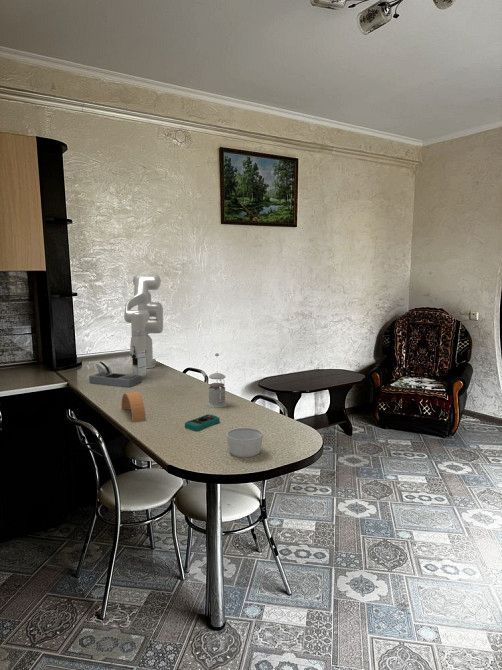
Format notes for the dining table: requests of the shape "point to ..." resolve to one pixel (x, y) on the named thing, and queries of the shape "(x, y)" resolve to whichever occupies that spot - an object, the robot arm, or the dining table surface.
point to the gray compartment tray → (115, 379)
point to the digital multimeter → (202, 422)
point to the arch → (134, 405)
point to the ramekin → (244, 441)
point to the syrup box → (140, 364)
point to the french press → (217, 391)
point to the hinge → (103, 367)
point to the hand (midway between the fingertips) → (139, 363)
